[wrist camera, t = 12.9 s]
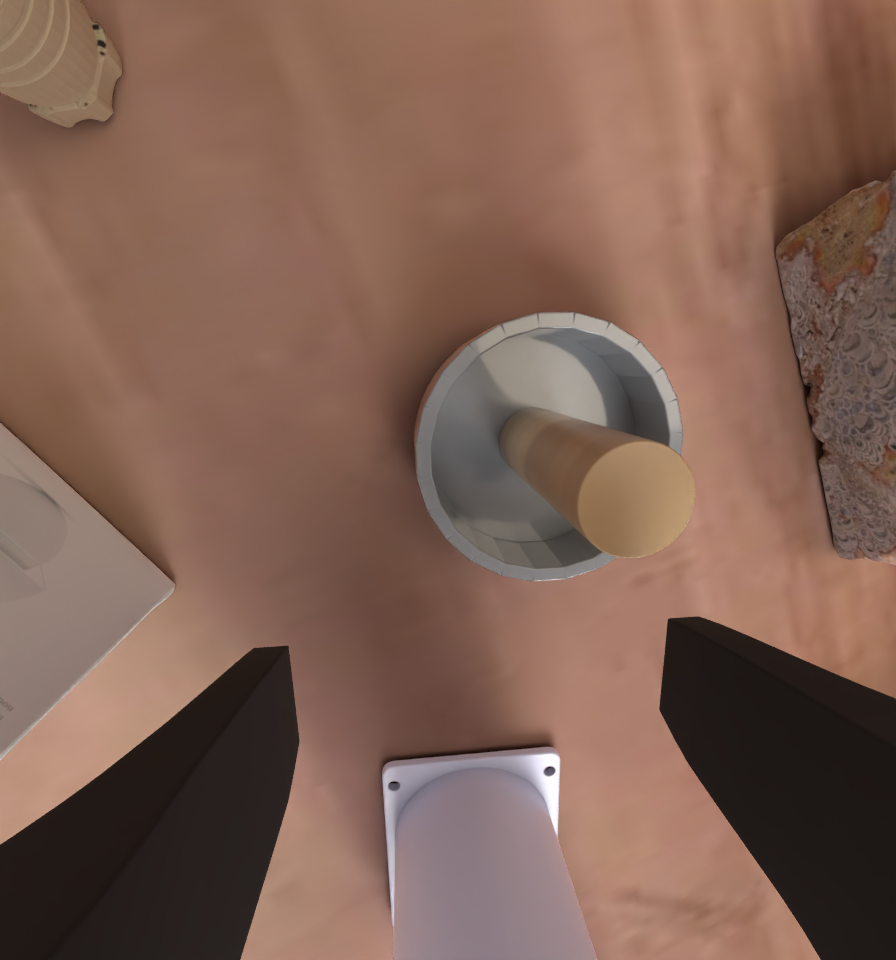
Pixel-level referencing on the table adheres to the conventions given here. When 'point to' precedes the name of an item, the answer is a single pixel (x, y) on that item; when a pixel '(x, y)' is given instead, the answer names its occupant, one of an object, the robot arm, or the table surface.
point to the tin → (500, 394)
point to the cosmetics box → (59, 589)
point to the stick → (602, 480)
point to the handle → (57, 60)
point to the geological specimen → (850, 359)
